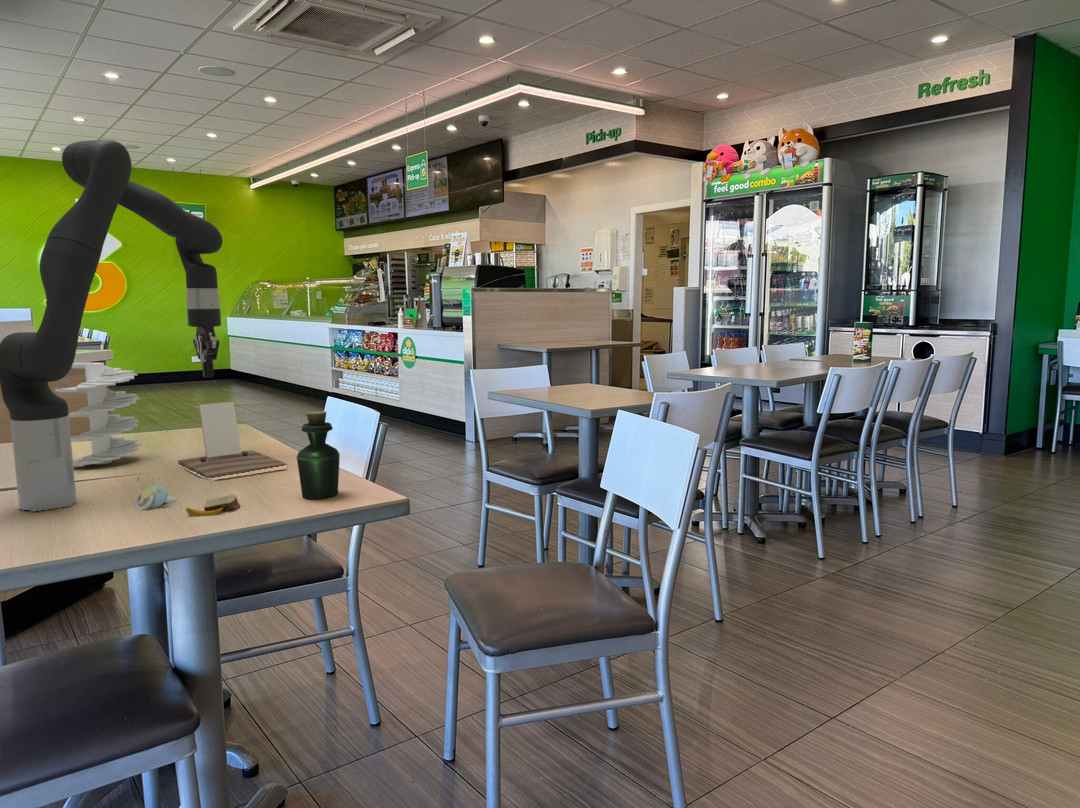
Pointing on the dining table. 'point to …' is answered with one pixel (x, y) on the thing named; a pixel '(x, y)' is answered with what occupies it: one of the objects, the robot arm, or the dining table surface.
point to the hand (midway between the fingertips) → (208, 377)
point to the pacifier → (153, 497)
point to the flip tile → (219, 429)
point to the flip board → (230, 464)
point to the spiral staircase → (104, 413)
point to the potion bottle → (318, 460)
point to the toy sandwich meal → (216, 506)
